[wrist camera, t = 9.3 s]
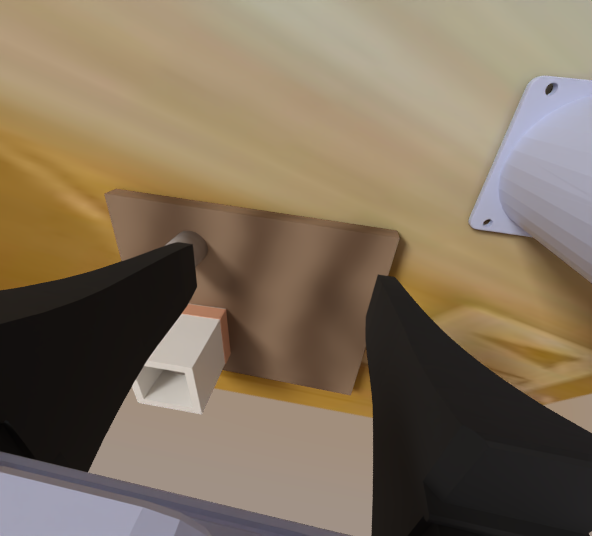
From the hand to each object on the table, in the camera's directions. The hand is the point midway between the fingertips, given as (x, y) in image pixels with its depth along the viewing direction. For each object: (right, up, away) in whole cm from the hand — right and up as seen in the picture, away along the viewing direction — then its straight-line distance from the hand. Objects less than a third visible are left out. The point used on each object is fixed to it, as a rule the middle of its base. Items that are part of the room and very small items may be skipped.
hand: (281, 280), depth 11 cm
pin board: (-3, -2, +13) cm, 14 cm away
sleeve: (-8, -5, +14) cm, 17 cm away
